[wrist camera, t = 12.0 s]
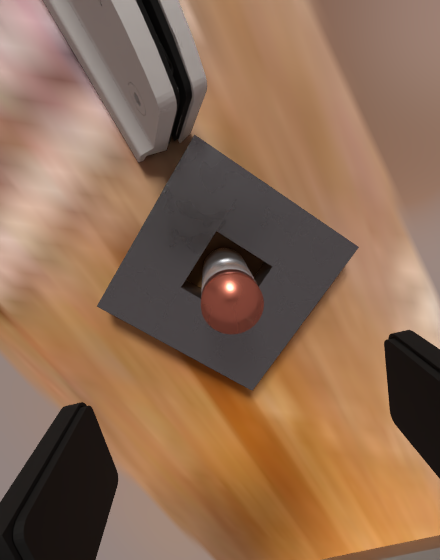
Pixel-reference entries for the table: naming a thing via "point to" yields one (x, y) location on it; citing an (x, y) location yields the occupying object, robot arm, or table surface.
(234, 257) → the pin
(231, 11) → the table surface
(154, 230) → the socket block
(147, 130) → the grey curved electronic device
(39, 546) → the robot arm
